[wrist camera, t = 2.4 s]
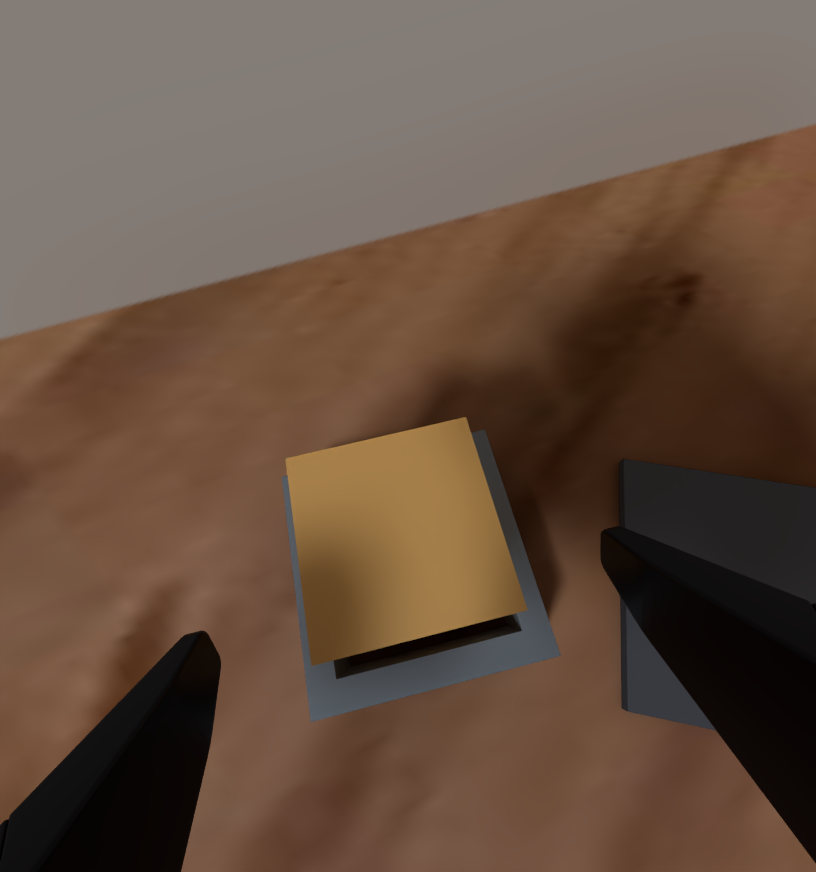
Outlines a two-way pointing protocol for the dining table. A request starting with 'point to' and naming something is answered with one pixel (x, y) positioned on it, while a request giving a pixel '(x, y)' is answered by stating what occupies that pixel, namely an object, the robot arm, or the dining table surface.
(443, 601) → the block
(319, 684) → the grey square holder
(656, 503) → the mat
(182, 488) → the dining table surface
